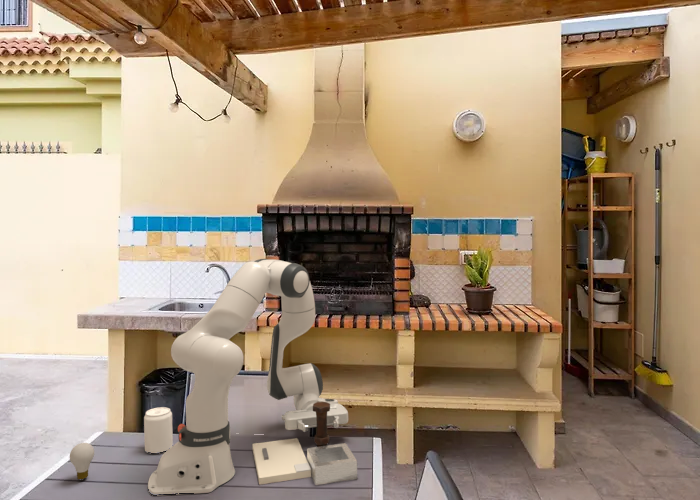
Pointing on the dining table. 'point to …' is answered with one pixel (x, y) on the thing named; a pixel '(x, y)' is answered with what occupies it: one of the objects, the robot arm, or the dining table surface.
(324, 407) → the bolt
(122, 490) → the dining table surface
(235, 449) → the dining table surface
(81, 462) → the light bulb
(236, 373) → the robot arm
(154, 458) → the dining table surface
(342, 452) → the hollow square frame
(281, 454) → the cabinet door
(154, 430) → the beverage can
